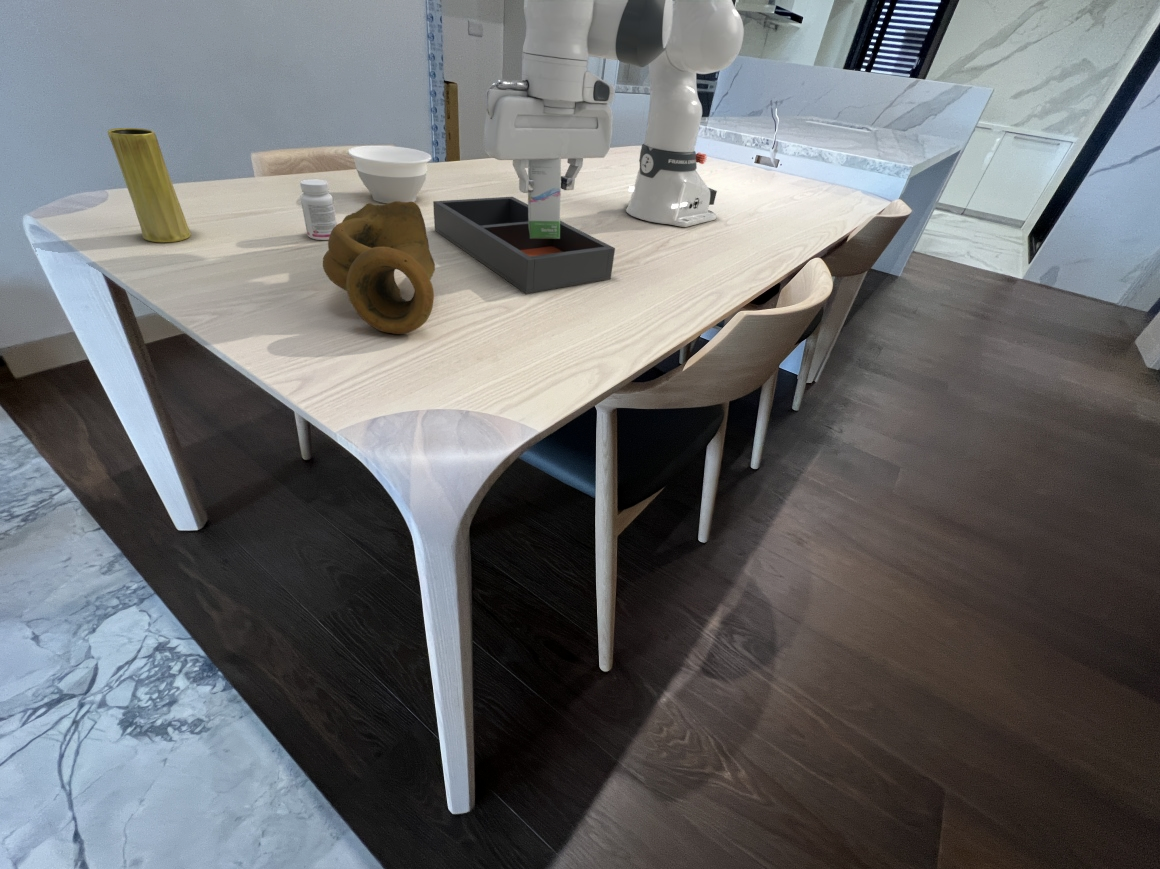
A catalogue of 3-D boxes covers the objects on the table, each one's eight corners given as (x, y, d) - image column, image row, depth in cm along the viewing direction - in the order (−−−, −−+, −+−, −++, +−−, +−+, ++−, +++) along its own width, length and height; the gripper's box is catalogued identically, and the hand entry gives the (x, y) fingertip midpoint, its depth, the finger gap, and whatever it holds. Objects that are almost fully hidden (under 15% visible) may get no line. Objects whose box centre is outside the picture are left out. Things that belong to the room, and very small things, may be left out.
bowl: (423, 212, 106) (420, 165, 101) (342, 203, 105) (334, 155, 100) (441, 194, 118) (439, 151, 113) (368, 185, 118) (363, 142, 112)
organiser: (511, 223, 106) (512, 196, 103) (610, 279, 87) (615, 248, 84) (434, 230, 98) (432, 201, 95) (526, 294, 79) (527, 259, 75)
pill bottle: (345, 236, 90) (336, 182, 85) (323, 242, 86) (313, 187, 81) (323, 229, 91) (314, 176, 86) (301, 236, 88) (290, 181, 83)
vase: (197, 239, 82) (164, 134, 73) (150, 245, 78) (109, 135, 69) (183, 228, 85) (150, 126, 76) (137, 233, 81) (97, 127, 73)
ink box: (528, 230, 90) (525, 151, 84) (559, 230, 90) (558, 151, 84) (529, 239, 82) (525, 153, 76) (562, 239, 83) (561, 153, 77)
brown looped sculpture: (480, 225, 78) (449, 247, 59) (452, 306, 84) (416, 350, 64) (355, 168, 74) (278, 171, 55) (334, 256, 80) (258, 287, 60)
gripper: (498, 81, 65) (497, 200, 73) (624, 89, 76) (610, 192, 84) (474, 74, 69) (475, 188, 77) (597, 83, 80) (586, 182, 88)
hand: (547, 190), depth 81 cm, fingers closed on ink box, 6 cm apart
